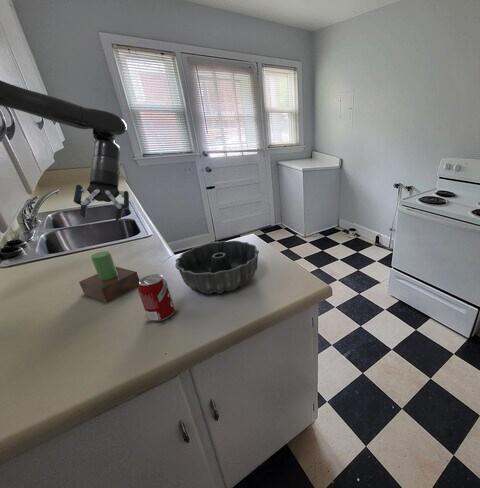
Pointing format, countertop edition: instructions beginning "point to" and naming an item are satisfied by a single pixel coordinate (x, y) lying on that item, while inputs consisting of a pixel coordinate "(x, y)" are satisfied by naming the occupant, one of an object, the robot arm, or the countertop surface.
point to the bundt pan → (218, 266)
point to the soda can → (156, 297)
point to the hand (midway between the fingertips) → (101, 218)
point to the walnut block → (110, 285)
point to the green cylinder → (104, 265)
